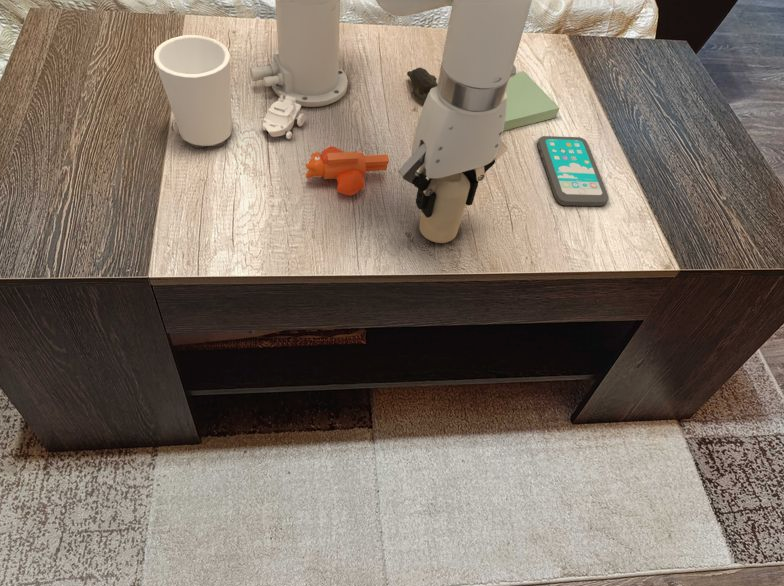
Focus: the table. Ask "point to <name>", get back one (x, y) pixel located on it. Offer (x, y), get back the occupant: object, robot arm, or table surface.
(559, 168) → the smartphone
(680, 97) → the table surface
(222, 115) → the cup
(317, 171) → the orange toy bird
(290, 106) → the toy car
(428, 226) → the candle
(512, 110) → the scale
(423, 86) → the statue
